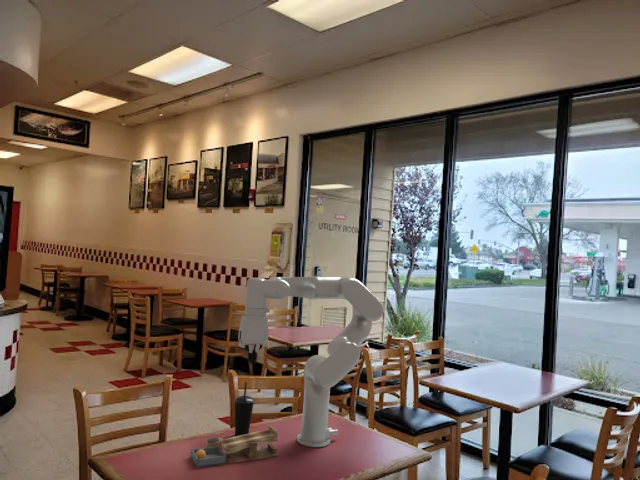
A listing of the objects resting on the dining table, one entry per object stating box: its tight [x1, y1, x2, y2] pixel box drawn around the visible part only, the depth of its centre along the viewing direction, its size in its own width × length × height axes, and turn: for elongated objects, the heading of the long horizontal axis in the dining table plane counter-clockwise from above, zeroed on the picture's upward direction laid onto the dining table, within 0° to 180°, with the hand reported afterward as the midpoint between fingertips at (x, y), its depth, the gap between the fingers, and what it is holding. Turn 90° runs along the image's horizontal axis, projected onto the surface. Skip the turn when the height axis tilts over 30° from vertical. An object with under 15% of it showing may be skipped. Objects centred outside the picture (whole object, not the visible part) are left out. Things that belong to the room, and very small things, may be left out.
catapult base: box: [222, 434, 279, 464], centre depth 167 cm, size 18×8×6 cm, turn 117°
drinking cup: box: [233, 381, 256, 437], centre depth 184 cm, size 8×8×20 cm
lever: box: [205, 424, 279, 453], centre depth 168 cm, size 22×10×3 cm, turn 117°
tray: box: [190, 445, 227, 469], centre depth 161 cm, size 9×8×2 cm
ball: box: [196, 449, 206, 459], centre depth 160 cm, size 3×3×3 cm
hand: (251, 363), depth 177 cm, fingers closed
